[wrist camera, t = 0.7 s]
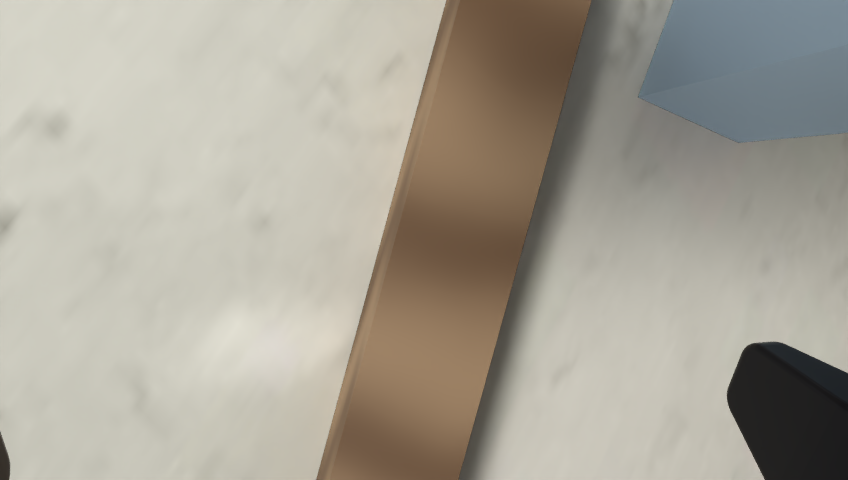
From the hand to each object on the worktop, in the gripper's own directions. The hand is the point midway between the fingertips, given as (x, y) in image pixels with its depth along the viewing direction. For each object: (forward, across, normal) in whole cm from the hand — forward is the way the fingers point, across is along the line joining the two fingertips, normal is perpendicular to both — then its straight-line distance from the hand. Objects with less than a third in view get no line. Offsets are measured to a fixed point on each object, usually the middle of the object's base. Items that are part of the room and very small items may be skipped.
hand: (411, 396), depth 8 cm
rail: (+13, -4, +6) cm, 15 cm away
